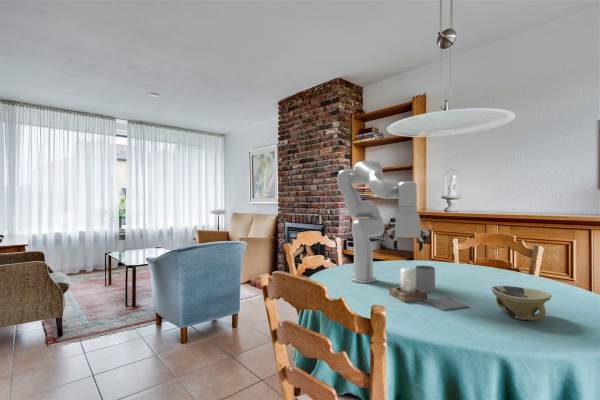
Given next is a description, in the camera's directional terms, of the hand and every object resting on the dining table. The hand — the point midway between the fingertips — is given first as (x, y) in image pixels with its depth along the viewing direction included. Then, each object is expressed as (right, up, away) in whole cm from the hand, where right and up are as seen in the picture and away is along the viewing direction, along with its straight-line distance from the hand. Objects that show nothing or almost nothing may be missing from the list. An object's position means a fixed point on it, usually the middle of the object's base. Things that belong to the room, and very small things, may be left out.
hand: (408, 250), depth 136 cm
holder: (0, -20, 0) cm, 20 cm away
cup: (+12, -20, +12) cm, 26 cm away
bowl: (+32, -20, -23) cm, 44 cm away
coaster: (+12, -20, -9) cm, 25 cm away
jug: (0, -20, -1) cm, 20 cm away
